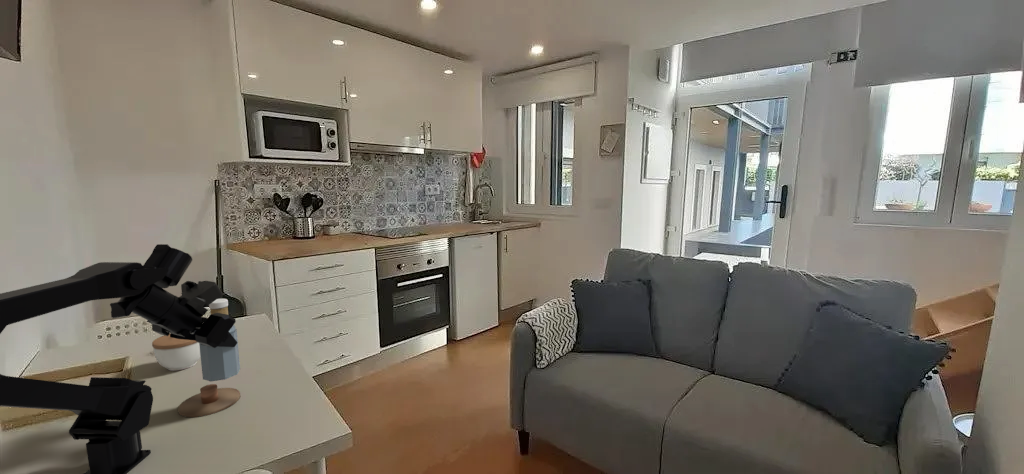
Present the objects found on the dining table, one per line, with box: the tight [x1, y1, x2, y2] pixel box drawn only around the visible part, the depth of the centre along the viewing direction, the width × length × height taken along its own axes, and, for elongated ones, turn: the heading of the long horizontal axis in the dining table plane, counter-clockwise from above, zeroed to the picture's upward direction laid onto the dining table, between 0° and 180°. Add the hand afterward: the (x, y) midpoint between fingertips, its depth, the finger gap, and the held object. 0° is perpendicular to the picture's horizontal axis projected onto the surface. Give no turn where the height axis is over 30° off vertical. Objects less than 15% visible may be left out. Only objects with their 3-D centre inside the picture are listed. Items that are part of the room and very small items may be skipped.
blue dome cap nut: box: [199, 324, 241, 382], centre depth 89 cm, size 6×6×10 cm
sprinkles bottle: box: [208, 298, 229, 315], centre depth 122 cm, size 5×5×13 cm
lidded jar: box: [151, 333, 201, 372], centre depth 109 cm, size 11×11×9 cm
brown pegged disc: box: [177, 383, 241, 418], centre depth 91 cm, size 11×11×4 cm
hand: (225, 342), depth 90 cm, fingers closed on blue dome cap nut, 6 cm apart
